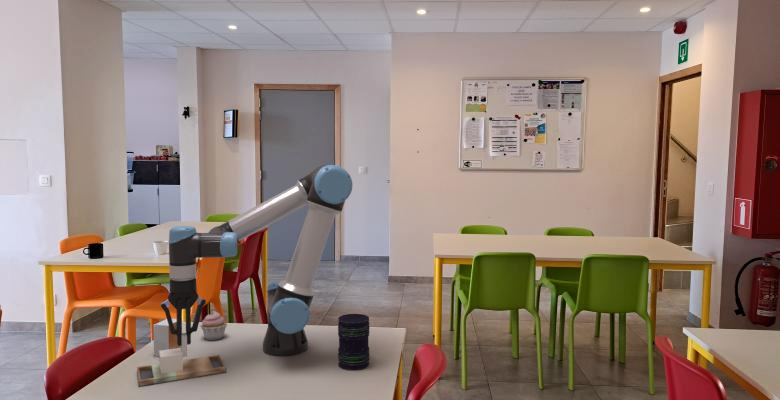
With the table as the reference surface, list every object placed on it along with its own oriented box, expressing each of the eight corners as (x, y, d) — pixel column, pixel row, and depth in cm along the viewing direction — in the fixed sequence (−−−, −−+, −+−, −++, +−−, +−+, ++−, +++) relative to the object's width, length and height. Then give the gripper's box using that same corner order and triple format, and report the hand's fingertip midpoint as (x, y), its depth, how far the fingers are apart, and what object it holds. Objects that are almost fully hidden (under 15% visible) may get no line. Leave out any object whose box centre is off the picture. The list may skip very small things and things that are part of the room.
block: (180, 363, 167) (180, 347, 167) (183, 370, 162) (182, 354, 162) (159, 367, 165) (159, 350, 164) (161, 374, 159) (160, 357, 159)
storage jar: (353, 373, 165) (353, 324, 164) (331, 365, 172) (331, 318, 171) (376, 364, 172) (376, 317, 171) (354, 356, 179) (354, 311, 178)
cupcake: (195, 337, 197) (195, 310, 197) (220, 332, 204) (219, 305, 203) (207, 344, 190) (206, 315, 190) (232, 338, 197) (231, 311, 196)
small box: (168, 357, 177) (168, 325, 177) (153, 356, 178) (152, 324, 178) (182, 349, 185) (182, 318, 184) (168, 348, 186) (167, 317, 186)
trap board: (219, 359, 176) (219, 354, 176) (226, 372, 165) (226, 367, 165) (137, 372, 165) (137, 367, 165) (138, 386, 154) (138, 381, 154)
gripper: (204, 273, 170) (204, 348, 171) (158, 277, 164) (159, 354, 165) (207, 278, 163) (208, 356, 165) (160, 282, 157) (161, 362, 159)
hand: (184, 355), depth 165 cm, fingers closed
